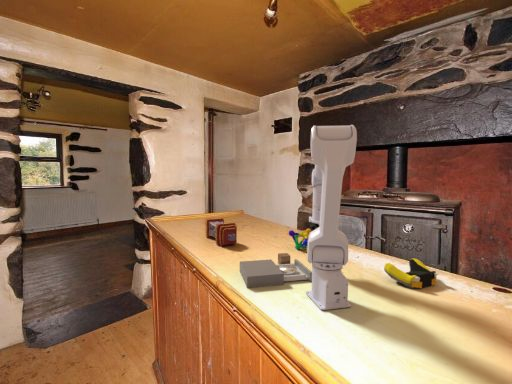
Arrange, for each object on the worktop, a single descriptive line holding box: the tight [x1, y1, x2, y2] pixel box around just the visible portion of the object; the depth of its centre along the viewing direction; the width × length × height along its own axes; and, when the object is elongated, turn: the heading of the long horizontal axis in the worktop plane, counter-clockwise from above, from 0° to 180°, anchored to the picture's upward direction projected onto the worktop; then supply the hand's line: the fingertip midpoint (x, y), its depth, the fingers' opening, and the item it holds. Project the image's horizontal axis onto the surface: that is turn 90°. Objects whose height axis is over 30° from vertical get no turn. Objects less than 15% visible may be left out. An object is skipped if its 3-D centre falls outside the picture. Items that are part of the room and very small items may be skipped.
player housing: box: [239, 259, 285, 289], centre depth 81 cm, size 13×11×3 cm
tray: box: [276, 258, 312, 283], centre depth 83 cm, size 13×11×2 cm
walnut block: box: [277, 252, 291, 265], centre depth 93 cm, size 4×4×4 cm
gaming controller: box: [383, 258, 439, 289], centre depth 79 cm, size 15×6×10 cm
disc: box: [279, 265, 297, 276], centre depth 83 cm, size 6×6×1 cm
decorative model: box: [288, 228, 312, 250], centre depth 114 cm, size 13×9×15 cm
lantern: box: [205, 217, 238, 247], centre depth 125 cm, size 10×9×30 cm
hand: (320, 247), depth 85 cm, fingers open, 2 cm apart
